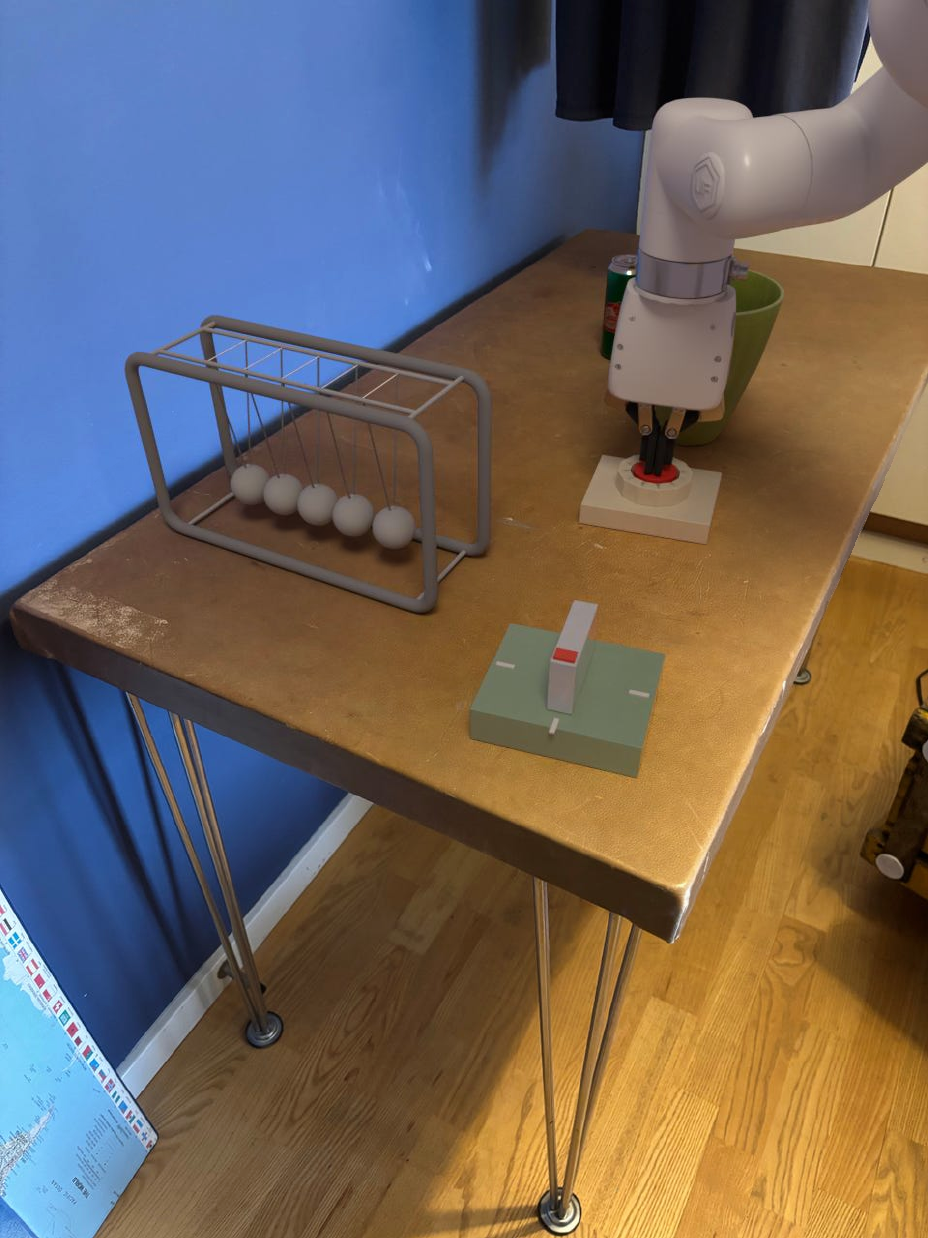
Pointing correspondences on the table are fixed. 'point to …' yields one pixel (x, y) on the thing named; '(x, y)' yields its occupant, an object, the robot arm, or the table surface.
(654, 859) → the table surface
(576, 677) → the tap handle
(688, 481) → the button block
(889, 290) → the table surface
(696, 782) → the table surface
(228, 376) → the newton's cradle
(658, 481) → the button
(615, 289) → the soda can
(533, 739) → the panel
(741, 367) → the flower pot
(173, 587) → the table surface
